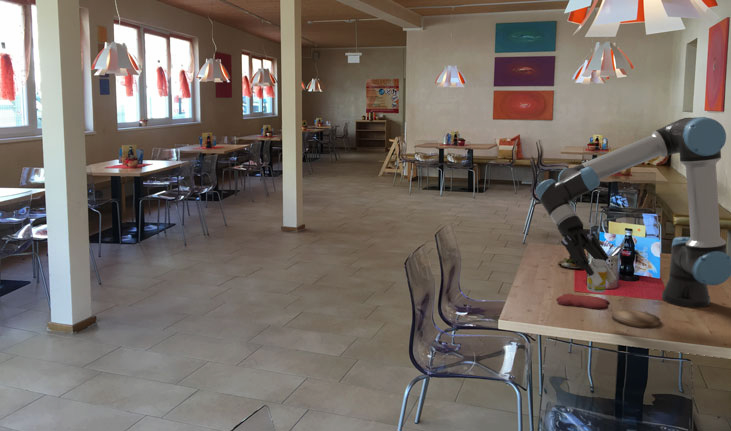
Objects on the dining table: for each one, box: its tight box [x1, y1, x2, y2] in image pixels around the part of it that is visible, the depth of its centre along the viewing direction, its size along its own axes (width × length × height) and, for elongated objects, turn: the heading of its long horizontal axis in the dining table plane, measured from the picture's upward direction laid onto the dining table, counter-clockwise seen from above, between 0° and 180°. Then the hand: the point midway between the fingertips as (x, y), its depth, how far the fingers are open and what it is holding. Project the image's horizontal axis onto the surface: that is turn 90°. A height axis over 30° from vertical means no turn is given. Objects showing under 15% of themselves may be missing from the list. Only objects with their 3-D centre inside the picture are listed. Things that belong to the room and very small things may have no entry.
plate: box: [611, 309, 661, 329], centre depth 197 cm, size 14×14×1 cm
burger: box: [557, 255, 584, 270], centre depth 268 cm, size 12×12×8 cm
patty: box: [556, 293, 610, 311], centre depth 216 cm, size 18×14×2 cm
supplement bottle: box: [586, 258, 607, 293], centre depth 192 cm, size 5×5×10 cm
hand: (606, 282), depth 189 cm, fingers closed on supplement bottle, 5 cm apart
